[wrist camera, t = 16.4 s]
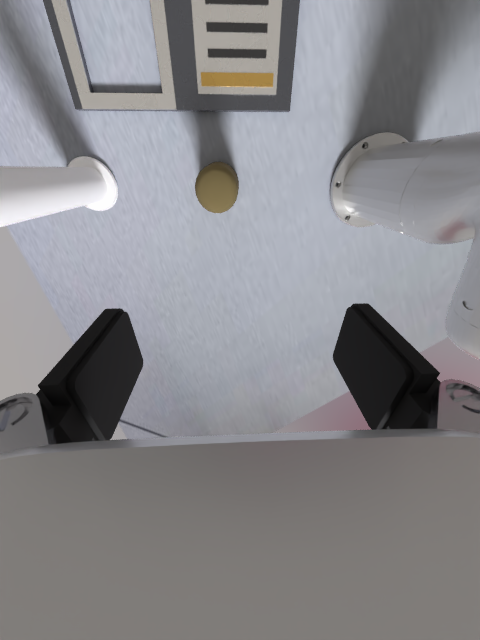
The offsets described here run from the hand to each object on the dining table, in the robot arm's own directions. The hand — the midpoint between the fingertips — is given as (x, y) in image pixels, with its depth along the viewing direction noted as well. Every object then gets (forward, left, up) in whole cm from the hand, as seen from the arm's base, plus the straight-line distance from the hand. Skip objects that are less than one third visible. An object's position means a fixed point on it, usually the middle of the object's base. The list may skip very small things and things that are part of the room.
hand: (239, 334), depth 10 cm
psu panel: (+6, -18, -33) cm, 39 cm away
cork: (+2, -4, -34) cm, 34 cm away
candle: (+21, -4, -34) cm, 40 cm away
